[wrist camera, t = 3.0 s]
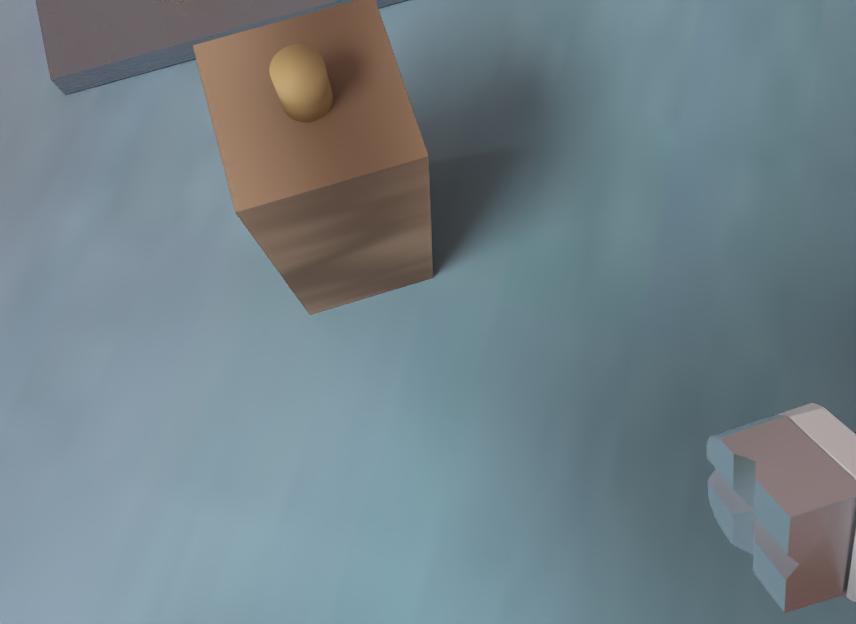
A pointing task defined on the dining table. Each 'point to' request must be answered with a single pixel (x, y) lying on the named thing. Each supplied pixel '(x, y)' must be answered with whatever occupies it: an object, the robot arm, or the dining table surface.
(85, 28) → the bolt plate
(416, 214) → the walnut peg
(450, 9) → the dining table surface
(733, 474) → the robot arm
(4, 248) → the dining table surface
